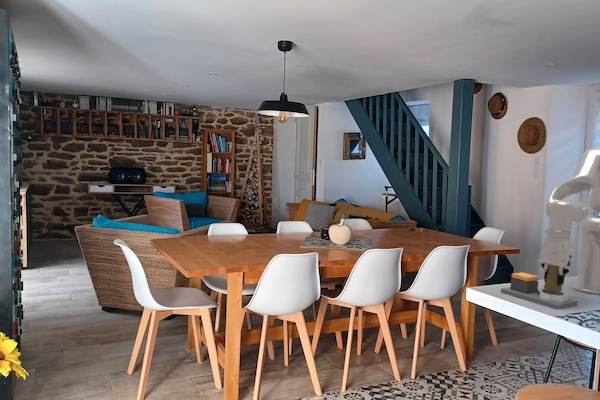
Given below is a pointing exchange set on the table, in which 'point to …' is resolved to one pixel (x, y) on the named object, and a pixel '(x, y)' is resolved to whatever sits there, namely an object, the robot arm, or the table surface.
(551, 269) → the cork
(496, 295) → the table surface
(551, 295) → the ring
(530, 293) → the grey base plate
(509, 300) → the table surface
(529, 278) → the button
